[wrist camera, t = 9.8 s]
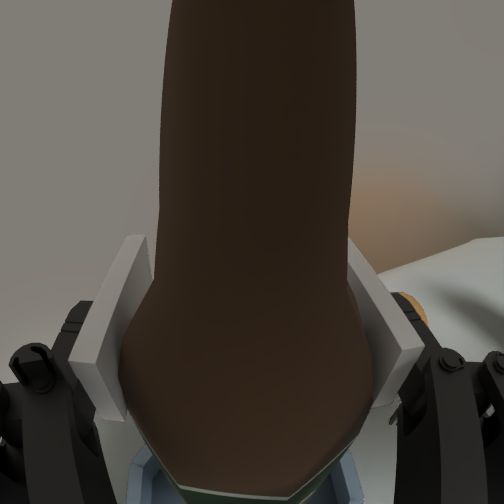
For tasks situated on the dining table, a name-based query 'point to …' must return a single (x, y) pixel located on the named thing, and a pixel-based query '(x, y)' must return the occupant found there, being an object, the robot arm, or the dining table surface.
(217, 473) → the beer bottle
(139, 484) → the bowl
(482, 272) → the dining table surface
